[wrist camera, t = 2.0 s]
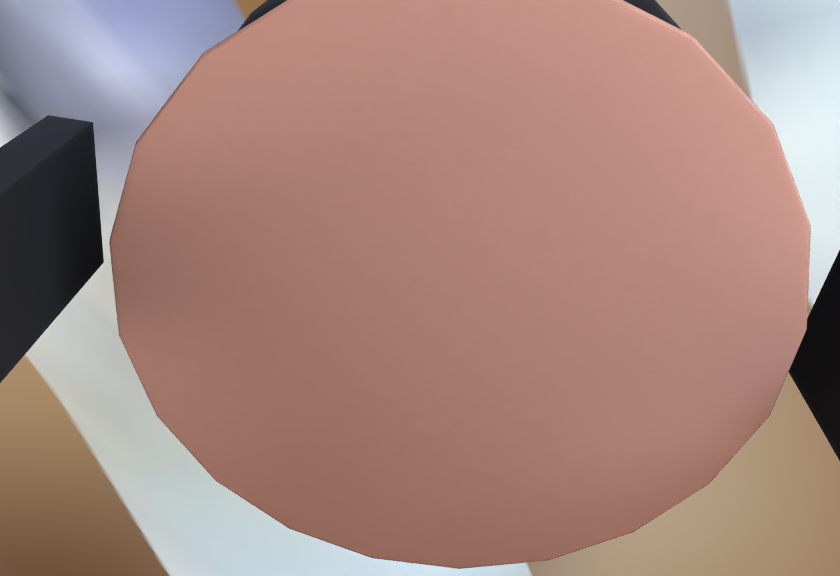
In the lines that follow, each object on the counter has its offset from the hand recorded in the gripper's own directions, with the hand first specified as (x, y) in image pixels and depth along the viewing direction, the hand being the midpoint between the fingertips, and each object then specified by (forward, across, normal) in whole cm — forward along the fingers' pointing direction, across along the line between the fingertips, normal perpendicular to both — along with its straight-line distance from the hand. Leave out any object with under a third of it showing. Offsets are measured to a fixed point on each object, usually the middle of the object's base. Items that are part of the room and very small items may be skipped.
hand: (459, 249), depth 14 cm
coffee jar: (+16, 0, 0) cm, 16 cm away
